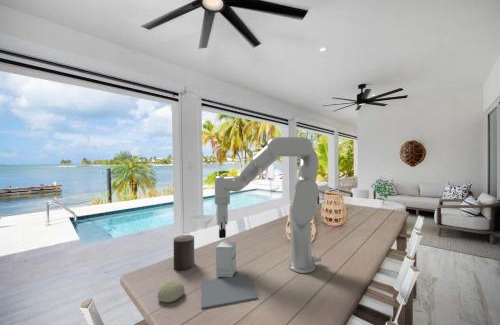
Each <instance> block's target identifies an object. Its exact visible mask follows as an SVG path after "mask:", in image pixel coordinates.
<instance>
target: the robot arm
mask: <svg viewBox="0 0 500 325" xmlns="http://www.w3.org/2000/svg"><path fill="white" fill-rule="evenodd" d="M280 157H297V158H298V159H299V160H298V161H299V166H298V173H297V177H296V181H295V184H294V190H295V192H294V197H293V201H292V202H291V203H290V205H289V220H290V222H289V224H290V229H289V230H290V260H288V262H287V267H288V268H289V269H290V270H291V271H293V272H296V273H299V274H300V273H301V274H307V273H308V274H309V273H311V272H314V271H315V270H316V264H315V263H316V262H322V257H321V256H316V255H313V252H312V221H313V219H314V216H315V213H316V208H317V207H316V206H317V203H318V198H319V194H320V192H319V191H320V190H319V185H318V183H317V178H318V171H319V163H320V162H319V157H318V154H317V152H316V150H315V149H314V148H313V143H312V141H311V140H310V139H309V138H307V137H304V136H290V137H289V136H287V137H286V136H283V137H282V136H277V137H272V138H271V139H270V140H268V142H267V144H266V145H265V146H264V147H263V148H262V149H261V150H260V151H258V153H256V154H255V155H254V156H253V157H252V158H251V159H250V161H249V162H248V164H247V165H246V167H245V168H243V169H242V170H241V171H240V172H239V173H238V174H236V175H234V176H228V175H217V176H215V178H214V205H216V217H215V220H216V225H217V226H218V227H219V228H218V239H225V238H226V236H227V233H226V232H227V230H226V226H227V225H228V219H229V218H228V217H229V210H228V209H229V208H228V205H230V204H231V192H233V193H234V192H235V193H237V192H240V191H242V190H243V189H244V188H246V187H247V186H248V185H250V183H251V182H252V181H254V180H255V179H256V178H257V177H258V176H259V175H261V174H263V172H265V171H266V170H267V169H268V168H269V167H270V166H271V165H273V163H275V162H276V161H277V160H278V159H279V158H280Z"/></svg>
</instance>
